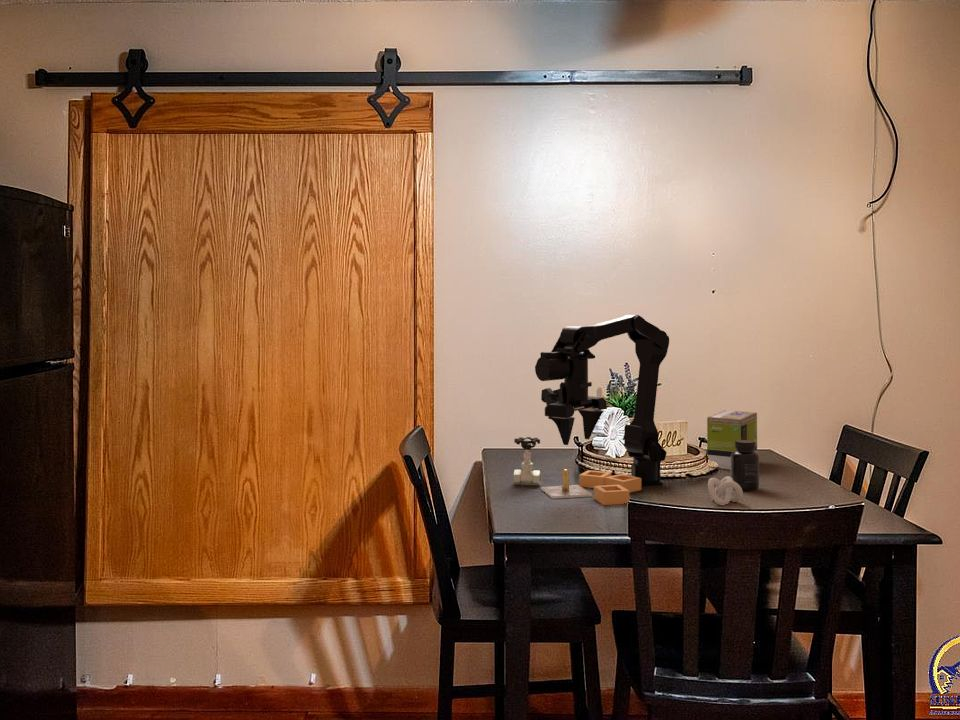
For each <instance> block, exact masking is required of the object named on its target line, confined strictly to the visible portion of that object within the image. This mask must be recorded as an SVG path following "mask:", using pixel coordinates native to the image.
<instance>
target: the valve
mask: <svg viewBox="0 0 960 720" xmlns="http://www.w3.org/2000/svg"><path fill="white" fill-rule="evenodd" d="M513 442H514V443H515V444H516V445H520V447H521V448H522V449H523V450H525V452H523V459H524V460H523V462H521V465H520V466H521V468H522V469H514V471H513V483H514V485H523V486H526V487H528V486H529V487H530V486H532V485H534V486H540V485H541V481H542V473H541V471H540V470H538V469H537V470H536V469H535V470H533V468H534V463H533V462H532V460H531V459H532V452H530V450H532V449H533V448H535V447H536V445H537V444H541V439H540V438H538V437H531V436H526V437H518V438H514V441H513Z"/></svg>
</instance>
